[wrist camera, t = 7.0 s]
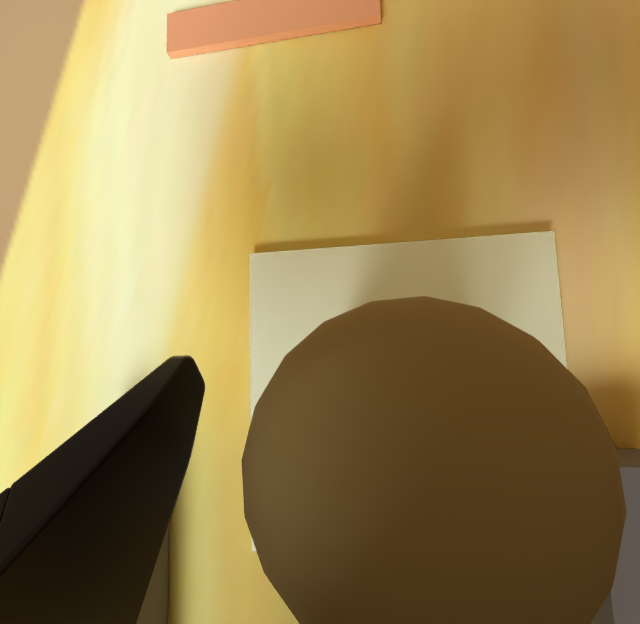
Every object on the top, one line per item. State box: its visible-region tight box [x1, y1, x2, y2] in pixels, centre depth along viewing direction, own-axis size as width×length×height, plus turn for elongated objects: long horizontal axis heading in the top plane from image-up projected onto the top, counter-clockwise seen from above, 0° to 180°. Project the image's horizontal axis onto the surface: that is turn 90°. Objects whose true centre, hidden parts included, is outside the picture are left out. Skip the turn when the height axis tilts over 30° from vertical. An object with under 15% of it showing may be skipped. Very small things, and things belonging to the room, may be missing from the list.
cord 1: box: [591, 449, 640, 624], centre depth 12 cm, size 10×2×2 cm, turn 2°
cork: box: [242, 296, 627, 624], centre depth 10 cm, size 6×6×11 cm
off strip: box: [167, 0, 381, 59], centre depth 18 cm, size 2×10×1 cm, turn 92°
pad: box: [249, 231, 567, 551], centre depth 15 cm, size 12×12×1 cm
